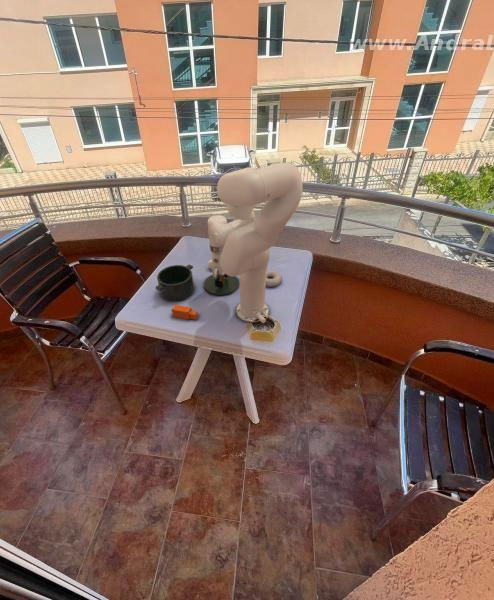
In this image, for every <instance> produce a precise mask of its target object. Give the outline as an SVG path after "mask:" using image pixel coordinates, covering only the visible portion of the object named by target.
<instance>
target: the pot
mask: <svg viewBox="0 0 494 600" xmlns="http://www.w3.org/2000/svg"><path fill="white" fill-rule="evenodd" d="M192 269H194V266H193V265H192V264H187V265H182V264H174V265H169V266H167V267H164V268H162V269H161V270H160V271H159V272H158V273H157V276H156V281H157V284H158V285H155V290H157V291H158V292H160V295H161V297H162V298H163V299H164V300H166V301H169V302H181V301H184V300H186V299H188V298H190V297H191V296H192V295H193V294H194V292H195V283H194V277H193V271H192Z"/></svg>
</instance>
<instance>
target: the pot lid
mask: <svg viewBox="0 0 494 600" xmlns="http://www.w3.org/2000/svg"><path fill="white" fill-rule="evenodd" d="M218 273H219V272H218ZM213 275H214V274H213V273H212V274H211V275H209V276H208V277H206V278H205V280H204V282H203V287H204V290H205V291H206V292H207V293H209V294H212V295H216V296H225V295H229V294H232V293H234V292H235V291H236V290H238V288H239V287H240V279H239V278H238V276H235V277H231V276H228V277H224V275H222V277H221V280H222V284H223V287H222V288H220V287H215V280H214V279H213ZM217 277H220V275H217Z"/></svg>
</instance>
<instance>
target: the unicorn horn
mask: <svg viewBox="0 0 494 600" xmlns="http://www.w3.org/2000/svg"><path fill="white" fill-rule="evenodd" d="M207 267H208V268H209V269H210V270H212V258H211V259H210V260H209V261H208V262H207Z"/></svg>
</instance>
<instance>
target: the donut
mask: <svg viewBox="0 0 494 600" xmlns="http://www.w3.org/2000/svg"><path fill="white" fill-rule="evenodd" d="M282 279H283V278H282V275H281V273H279V271H276V270H273V269H266V285H265V287H270V288H271V287H276V286H279V285H280V284H281V283H282Z"/></svg>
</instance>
